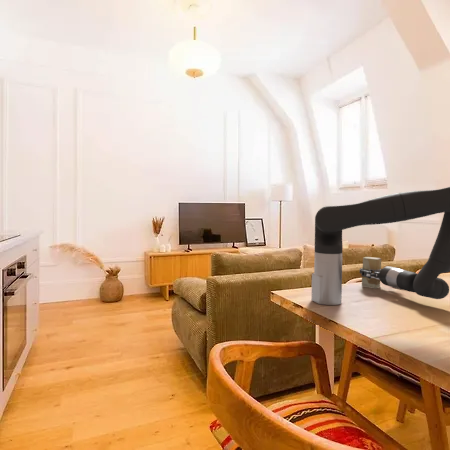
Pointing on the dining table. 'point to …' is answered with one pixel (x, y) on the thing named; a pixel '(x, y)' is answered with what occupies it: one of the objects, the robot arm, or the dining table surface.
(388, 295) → the dining table surface
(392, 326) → the dining table surface
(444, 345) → the dining table surface
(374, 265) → the skincare box
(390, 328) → the dining table surface
